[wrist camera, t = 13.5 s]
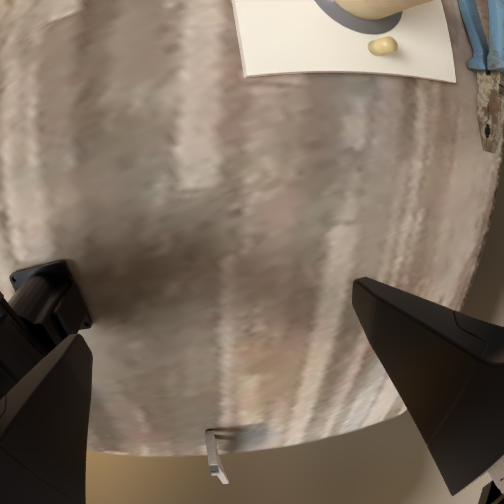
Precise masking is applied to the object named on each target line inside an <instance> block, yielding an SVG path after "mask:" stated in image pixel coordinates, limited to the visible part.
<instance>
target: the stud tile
mask: <svg viewBox="0 0 504 504" xmlns="http://www.w3.org/2000/svg"><path fill="white" fill-rule="evenodd" d="M232 5H233V11H234V17H235V23H236V29H237V36H238V42H239V48H240V54H241V61H242V67H243V73H244V78H250V77H259V76H270V75H283V74H302V73H363V74H381V75H393V76H404V77H413V78H421V79H428V80H435V81H441V82H447V83H456V77H455V69H454V61H453V54H452V48H451V42H450V37H449V32H448V27H447V22H446V18H445V14H444V9H443V5H442V2H441V0H434V1H431V2H427V3H424V4H421V5H418V6H415V7H412V8H409V9H406V10H403V11H400V12H398V13H395V14H392V15H390V16H387V17H384V18H381V19H377V20H365V19H361V18H358V17H355V16H353V15H351V14H349V13H347V12H346V11H344V10H343V9H342V8H340V7H339V6H338V5H337V4H336V3H335V2H334V0H232Z"/></svg>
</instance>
